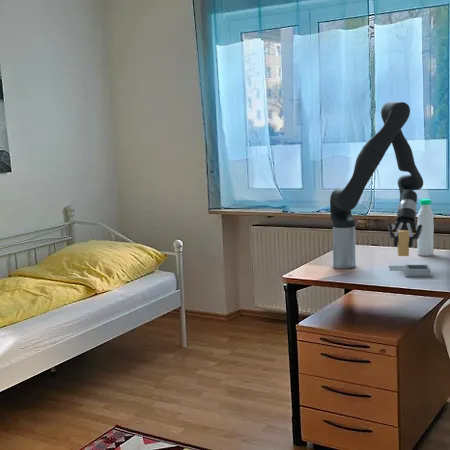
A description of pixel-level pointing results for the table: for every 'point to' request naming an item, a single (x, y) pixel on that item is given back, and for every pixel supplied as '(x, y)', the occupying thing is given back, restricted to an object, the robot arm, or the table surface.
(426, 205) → the water bottle
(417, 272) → the tray
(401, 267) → the jamb plate
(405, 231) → the block
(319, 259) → the table surface
